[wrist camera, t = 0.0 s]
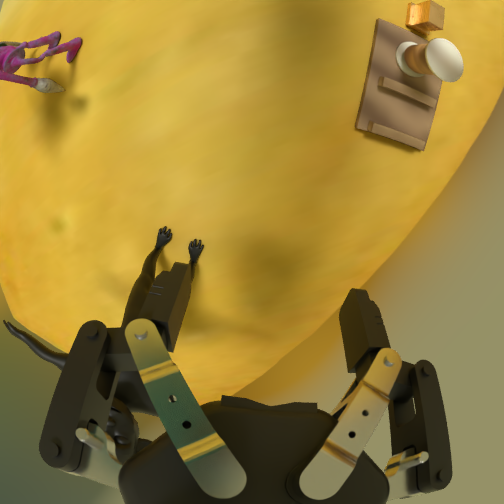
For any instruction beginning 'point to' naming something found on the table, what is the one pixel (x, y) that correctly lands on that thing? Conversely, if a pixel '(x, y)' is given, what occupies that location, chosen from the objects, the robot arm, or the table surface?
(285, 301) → the table surface
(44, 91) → the toy
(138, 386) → the monkey
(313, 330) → the table surface
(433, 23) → the tan wooden block
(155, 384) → the robot arm
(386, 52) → the board
